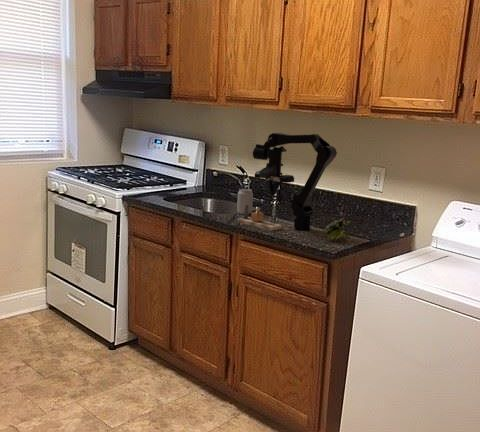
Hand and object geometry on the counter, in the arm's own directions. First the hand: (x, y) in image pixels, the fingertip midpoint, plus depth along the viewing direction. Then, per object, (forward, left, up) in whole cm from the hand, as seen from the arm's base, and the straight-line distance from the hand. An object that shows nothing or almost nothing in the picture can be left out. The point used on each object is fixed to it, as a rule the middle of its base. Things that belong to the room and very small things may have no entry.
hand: (273, 195), depth 246 cm
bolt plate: (+5, +5, -13) cm, 15 cm away
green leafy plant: (-30, +20, -13) cm, 39 cm away
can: (+15, -19, -13) cm, 28 cm away
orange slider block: (+6, +4, -11) cm, 13 cm away
